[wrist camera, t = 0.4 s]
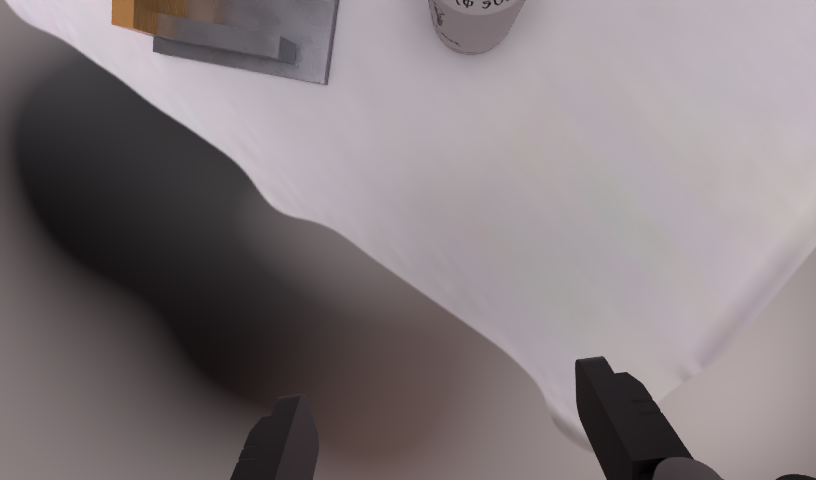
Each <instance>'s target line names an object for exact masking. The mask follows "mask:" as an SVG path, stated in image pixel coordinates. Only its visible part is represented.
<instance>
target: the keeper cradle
mask: <svg viewBox="0 0 816 480" xmlns="http://www.w3.org/2000/svg"><path fill="white" fill-rule="evenodd" d="M337 8H338V0H112V25H116V26H119V27H122V28H126V29H129V30H132V31H135V32H139V33H142V34H145V35H149V36H152V37H154V40H153V52H156V53H160V54H165V55H171V56H176V57H181V58H186V59H192V60H197V61H202V62H208V63H213V64H218V65H224V66H229V67H234V68H240V69H245V70H250V71H256V72H261V73H266V74H272V75H277V76H282V77H287V78H293V79H298V80H303V81H309V82H314V83H319V84H325V85H327V82H328V75H329V67H330V60H331V53H332V45H333V38H334V30H335V23H336V15H337Z"/></svg>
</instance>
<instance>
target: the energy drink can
mask: <svg viewBox="0 0 816 480" xmlns="http://www.w3.org/2000/svg"><path fill="white" fill-rule="evenodd" d="M428 1H429V6H430V11H431V16H432V20H433V25H434V28H435V30H436V33H437V34H438V36H439V37H440V39H441V40H442V41H443V42H444V43H445V44H446V45H447V46H448V47H450V48H451V49H452V50H455V51H457V52H459V53H464V54H478V53H483V52H485V51H488V50H490V49H492V48H493V47H494V46H496V45H497V44H499V42H500V41H501V40H502V39H503V38H504V37H505V35H506V34H507V32H508V31H509V29H510V27H511V26H512V24H513V22H514V20H515V18H516V16H517V15H518V13H519V11H520V9H521V7H522V6H523V4H524V2H525V0H428Z"/></svg>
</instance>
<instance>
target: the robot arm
mask: <svg viewBox="0 0 816 480" xmlns="http://www.w3.org/2000/svg"><path fill="white" fill-rule="evenodd" d="M575 374H576V403H577V409H578V414H579V417H580V420H581V423H582V425H583V428H584V430H585V432H586V434H587V437H588V439H589V441H590V443H591V445H592V448H593V450H594V452H595V454H596V457H597V459H598V461H599V463H600V465H601V468H602V470H603V472H604V474H605V477H606V479H607V480H723V479H722V478H721V477H720V476H719V475H718V474H717V473H716V472H715V471H714V470H713V469H711V468H710V467H708V466H707V465H705V464H703V463H701V462H699V461H696V460H694V458H693V457H692V456H691V454H690V453H689V451H688V450H687V448H686V447H685V446H684V444H683V443H682V441H681V440H680V438H679V437H678V435H677V434H676V432H675V431H674V429H673V428H672V426H671V425H670V423H669V422H668V421H667V419H666V418H665V416H664V415H663V413H661V411H660V409H659V407H658V406H657V404H656V403H655V401H653V400H652V397H651V395H650V394H649V392H648V391H647V390H646V388H645V387H644V385H643V384H642V383H641V382H640V381H638V380H637V379H635V378H634V377H633V376H631V375H630V374H628V373H627V372H623V373H614V372H613V370H612V369H611V367H610V365H609V364H608V362H607V360H606V359H605V358H604V357H603V356H601V357H593V358H585V359H577V360H576V362H575ZM318 452H319V438H318V432H317V429H316V425H315V422H314V419H313V416H312V413H311V410H310V407H309V403H308V400H307V397H306V396H305V395H304V394H299V395H291V396H284V397H279V398H278V399H277V401H276V404H275V406H274V409H273V412H272V414H271V416H268V417H262V418H261V419H260V420H259V422H258V423H257V424H256V425H255V426H254V427H253V428H252V430H251V431H250V432H249V435H248V437H247V440H246V442H245V445H244V450H242V452H241V455H240V457H239V462H238V463H237V464H236V467H235V469H234V472H233V474H232V477H231V479H230V480H313V475H314V471H315V466H316V462H317V457H318ZM776 480H816V478H813V477H809V476H805V475H798V474H789V475H784V476H781V477H779V478H777V479H776Z"/></svg>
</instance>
